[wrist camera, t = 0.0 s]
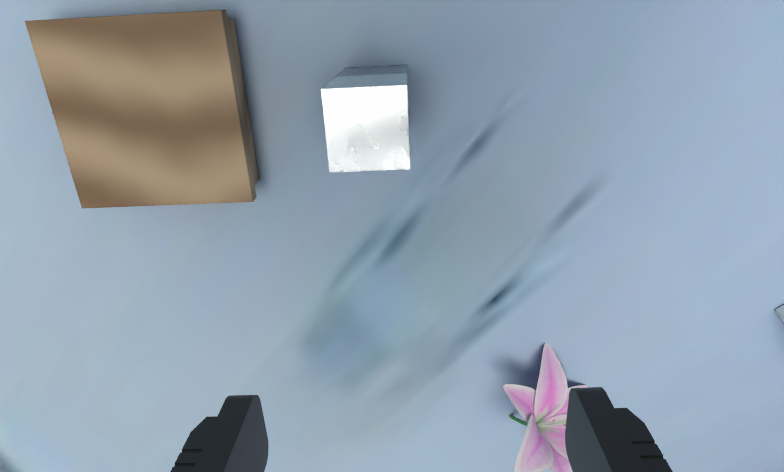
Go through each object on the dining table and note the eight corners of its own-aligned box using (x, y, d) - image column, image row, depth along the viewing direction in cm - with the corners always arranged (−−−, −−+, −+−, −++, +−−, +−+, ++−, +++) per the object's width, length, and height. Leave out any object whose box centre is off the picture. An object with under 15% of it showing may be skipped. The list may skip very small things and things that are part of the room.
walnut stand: (62, 20, 37) (24, 20, 34) (239, 10, 37) (221, 10, 33) (110, 191, 42) (82, 208, 39) (266, 185, 42) (252, 201, 38)
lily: (591, 431, 52) (660, 467, 43) (493, 490, 50) (544, 543, 40) (545, 324, 52) (605, 337, 42) (444, 378, 49) (485, 405, 40)
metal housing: (346, 67, 38) (321, 89, 27) (406, 64, 38) (406, 85, 27) (351, 128, 40) (329, 172, 29) (409, 126, 40) (410, 168, 29)
